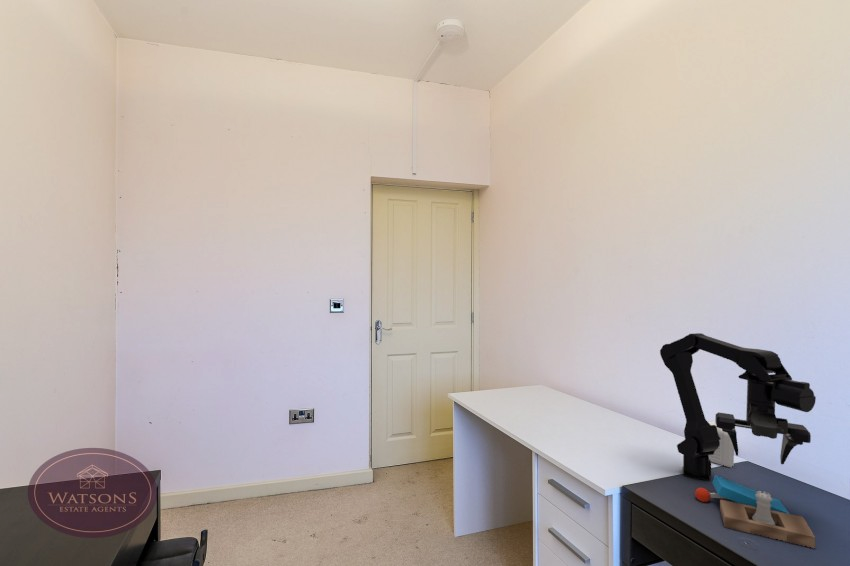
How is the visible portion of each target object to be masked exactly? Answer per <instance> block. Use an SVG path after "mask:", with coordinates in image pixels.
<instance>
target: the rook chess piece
mask: <svg viewBox="0 0 850 566" xmlns="http://www.w3.org/2000/svg"><path fill="white" fill-rule="evenodd" d="M756 491H757V494H755V497H756V498H757V501H756V503H757V509H756V513H755V514H754V515H753V516H752V518H751V520H753V521H757V522H762V523H766V524H770V525H775V526H776V524H775V522H774V521H773V519H772V517H771V512H770V507H771V504H770V502H771V501H772V500H773V499H772V498H773V497H772V496H771V493H770V492H767V491H763V492H762V491H761V490H756ZM771 497H772V498H771Z"/></svg>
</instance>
